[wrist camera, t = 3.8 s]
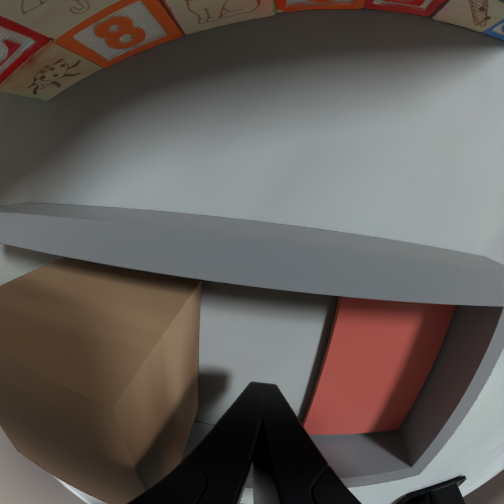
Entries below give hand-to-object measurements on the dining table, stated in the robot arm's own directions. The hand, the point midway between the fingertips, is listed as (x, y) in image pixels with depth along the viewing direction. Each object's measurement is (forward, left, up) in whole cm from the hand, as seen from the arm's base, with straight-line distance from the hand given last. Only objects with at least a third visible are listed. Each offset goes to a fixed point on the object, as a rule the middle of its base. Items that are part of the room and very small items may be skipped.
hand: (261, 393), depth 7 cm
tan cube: (0, +5, -2) cm, 5 cm away
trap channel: (0, +2, -2) cm, 2 cm away
